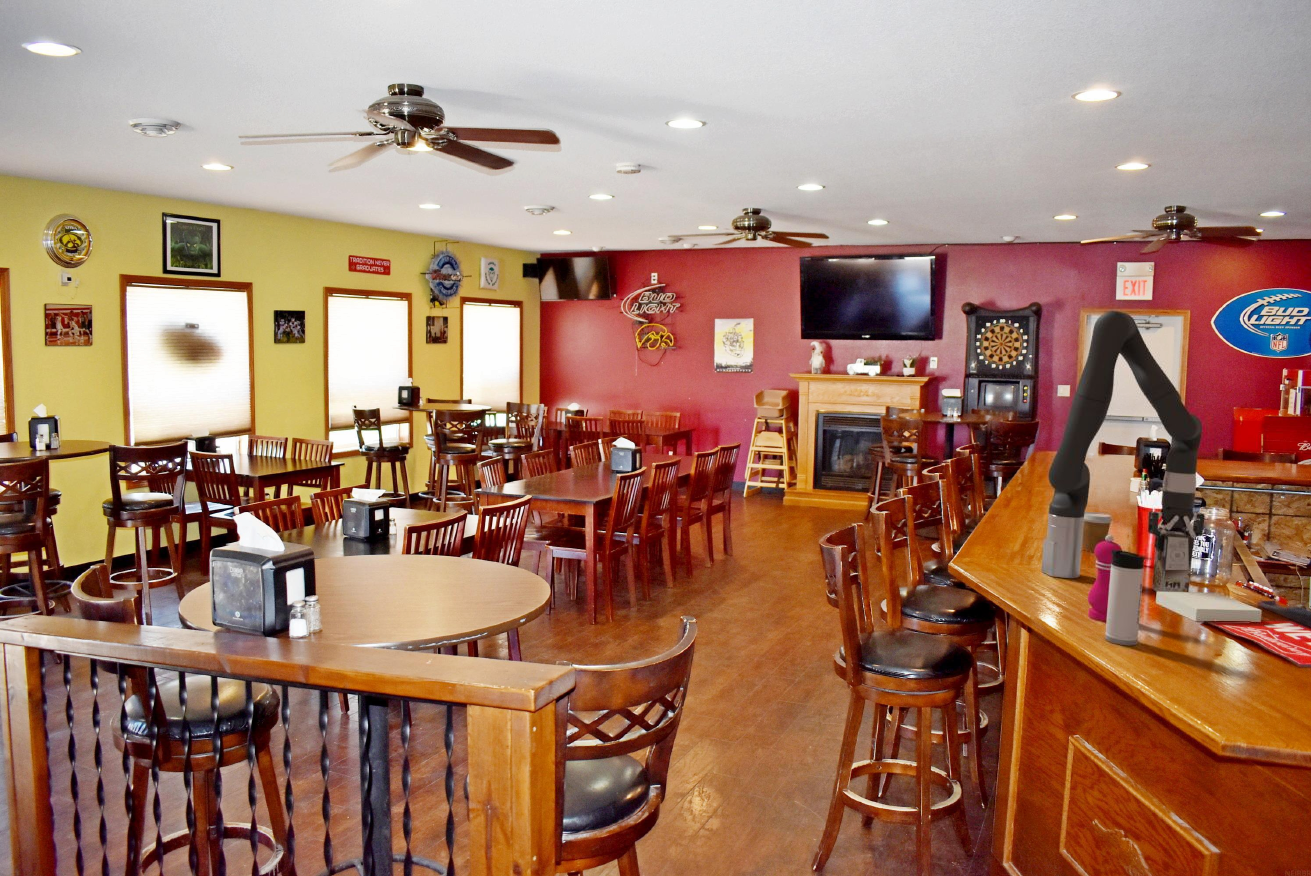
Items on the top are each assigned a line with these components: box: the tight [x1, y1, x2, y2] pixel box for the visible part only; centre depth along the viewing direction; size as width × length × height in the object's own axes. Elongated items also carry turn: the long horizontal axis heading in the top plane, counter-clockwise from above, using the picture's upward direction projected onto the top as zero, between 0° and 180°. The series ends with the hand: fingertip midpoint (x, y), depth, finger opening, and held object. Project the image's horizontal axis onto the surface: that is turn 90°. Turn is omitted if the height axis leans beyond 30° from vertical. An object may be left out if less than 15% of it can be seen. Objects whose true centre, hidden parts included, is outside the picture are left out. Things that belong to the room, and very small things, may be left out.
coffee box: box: [1151, 530, 1195, 593], centre depth 245 cm, size 9×6×16 cm
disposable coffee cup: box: [1082, 511, 1113, 553], centre depth 299 cm, size 10×10×12 cm
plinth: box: [1155, 591, 1262, 622], centre depth 227 cm, size 16×16×3 cm
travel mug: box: [1104, 550, 1145, 647], centre depth 200 cm, size 6×7×20 cm
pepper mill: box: [1087, 534, 1123, 622], centre depth 218 cm, size 7×7×20 cm
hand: (1173, 551), depth 244 cm, fingers closed on coffee box, 7 cm apart
